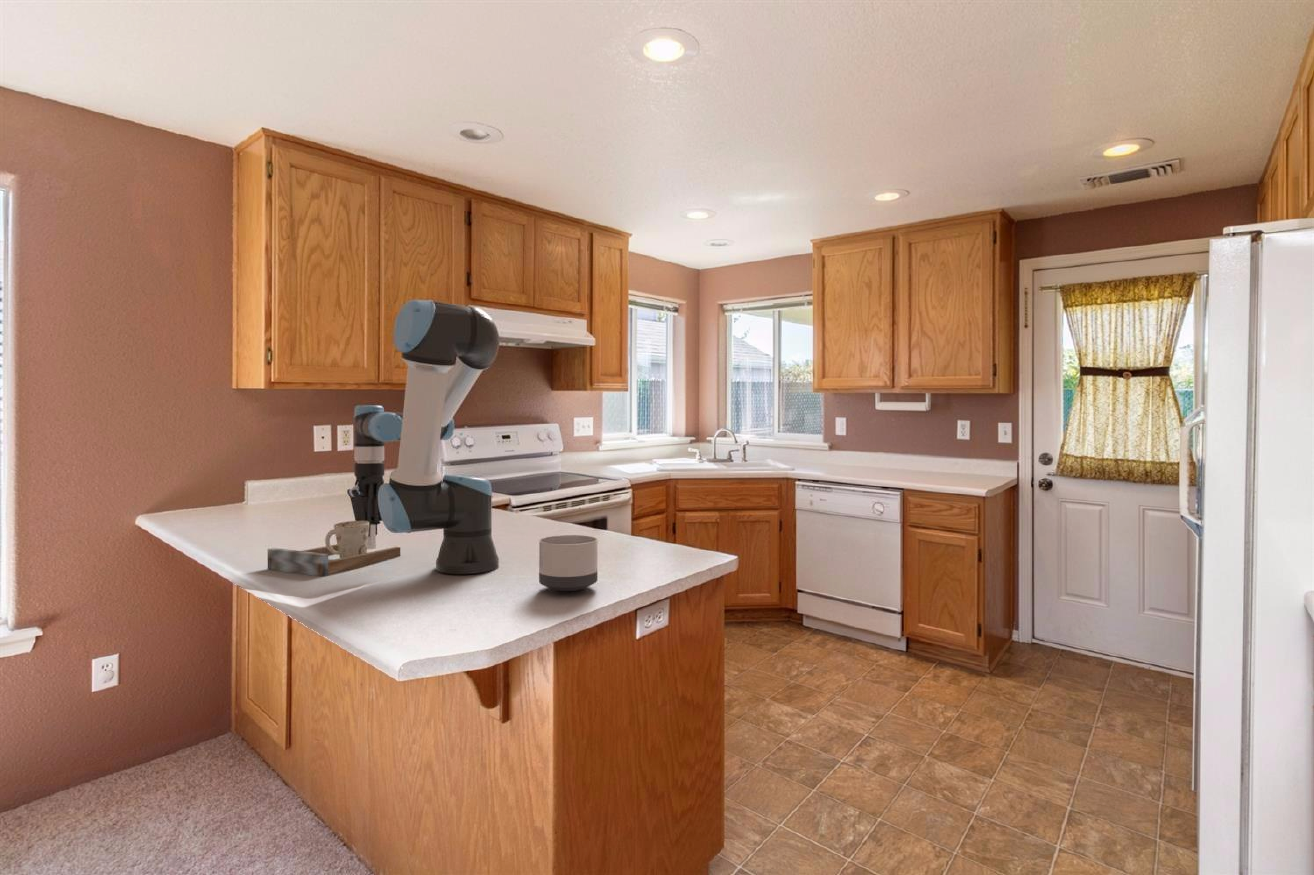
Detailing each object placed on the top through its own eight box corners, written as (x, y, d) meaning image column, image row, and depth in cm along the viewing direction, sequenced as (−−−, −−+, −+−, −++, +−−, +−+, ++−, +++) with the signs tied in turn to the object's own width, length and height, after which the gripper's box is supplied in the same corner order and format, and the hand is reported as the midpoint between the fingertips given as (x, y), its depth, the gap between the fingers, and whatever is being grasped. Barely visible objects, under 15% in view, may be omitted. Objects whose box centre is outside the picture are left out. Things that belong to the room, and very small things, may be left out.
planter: (545, 579, 153) (545, 534, 153) (600, 580, 153) (600, 535, 153) (533, 593, 140) (533, 544, 140) (593, 594, 140) (593, 544, 140)
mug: (357, 565, 168) (355, 526, 167) (314, 564, 170) (312, 526, 170) (377, 557, 176) (375, 520, 175) (336, 557, 178) (334, 520, 178)
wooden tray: (400, 558, 177) (400, 539, 177) (322, 576, 155) (322, 555, 155) (348, 552, 185) (348, 534, 185) (267, 569, 163) (267, 548, 163)
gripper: (378, 460, 187) (378, 543, 188) (339, 462, 175) (339, 551, 176) (398, 461, 184) (398, 545, 184) (359, 463, 172) (360, 553, 173)
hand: (369, 548), depth 180 cm, fingers closed
